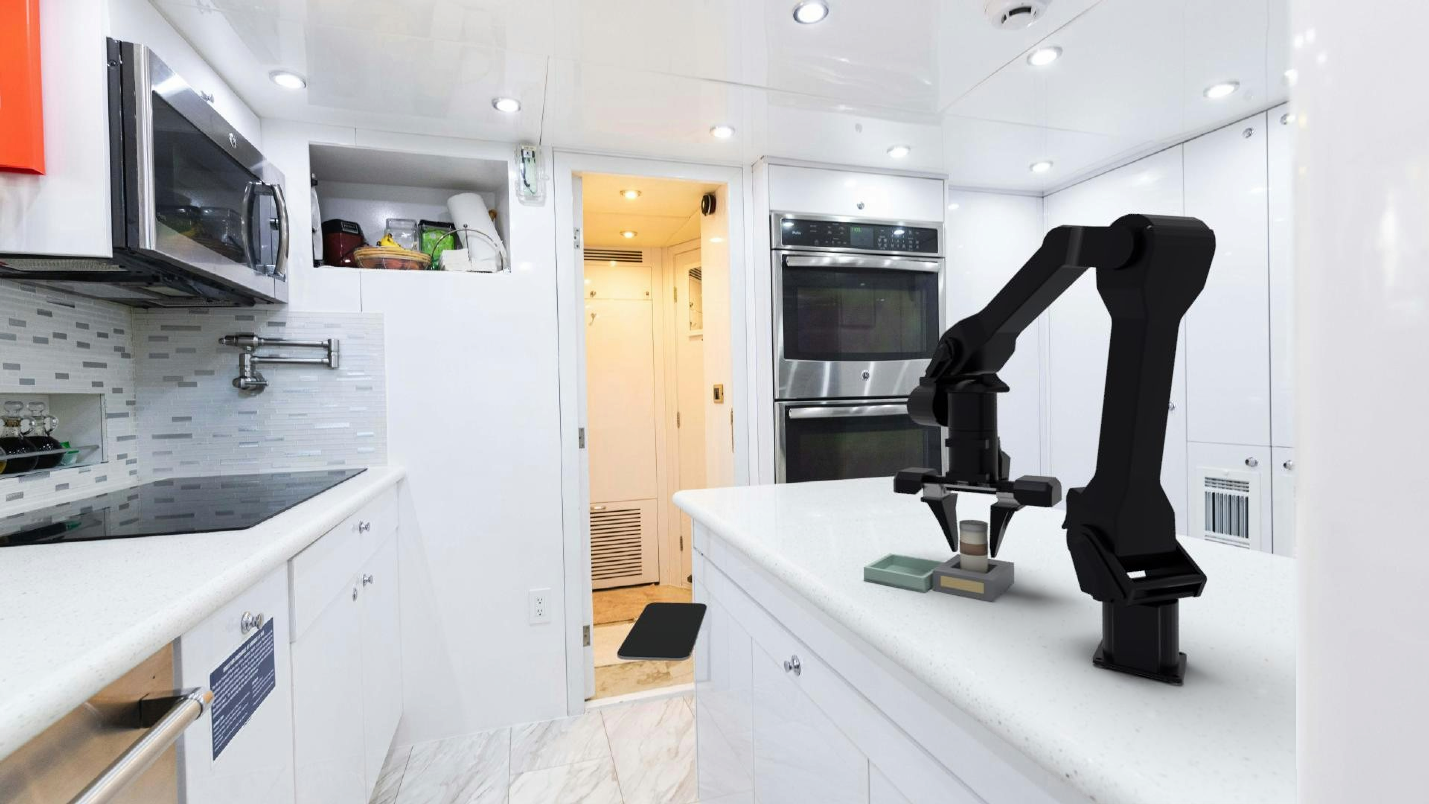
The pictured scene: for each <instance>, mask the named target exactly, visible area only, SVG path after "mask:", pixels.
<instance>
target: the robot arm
mask: <svg viewBox="0 0 1429 804" xmlns="http://www.w3.org/2000/svg"><path fill="white" fill-rule="evenodd" d="M1216 239H1217V238H1216V235H1215V232H1214V229H1212V228H1210V227H1209V226H1208V224H1206V223H1205V222H1204V221H1203V220H1201V219H1200V218H1197V217H1194V216H1183V215H1182V216H1181V215H1179V216H1178V215H1166V214H1163V215H1162V214H1148V213H1147V214H1146V213H1127V214H1124V215H1122V216H1119V217H1117V218H1116V219H1115V220H1114V221H1112V222H1111V223H1110V225H1101V226H1100V225H1099V226H1098V225H1095V226H1094V225H1093V226H1092V225H1076V224H1060V225H1058V226H1056V227H1054V228H1051V229H1050V230H1049V231H1048V232H1046V234H1045V236H1044V237H1043V240H1042V244H1041V246H1040V247H1039V248H1038V249H1037V250H1036V251H1035V252H1034V253H1033V255H1031V257H1030V258H1028V260H1027V261H1026V262H1025V263H1024V264H1023V265H1022V266H1021V268H1019V270H1018V271H1017V272H1016V273H1015V274H1014V275H1013V276H1012V277H1011V278H1010V279H1009V280H1008V282H1007V283H1006V284H1005V285H1004V286H1003V287H1002V288H1001V289H1000V290H999V291H998V292H997V293H996V295H995V296H994V297H993V298H992V299H991V300H990V301H989V302H988V303H987V304H986V305H985V307H983V308H982V309H981V310H979V312H977V313H973V314H971V315H969V316H966V317H964V318H962V319H960V320H958V321H957V322H955V323H954V324H953V325H952V326H951V327H949V328H948V329H947V330H945V331H944V332H943V333H942V335H941V337H940V338H939V341H938V343H937V345H936V348H935V350H934V353H933V355H932V357H931V360H930V362H929V364H928V365H927V367H926V368H925V370H924V372H925V374H924V376H919V378H918V381H919V383H918V384H919V385H917V386H916V387H914V388H913V389H912V390H911V391H910V394H909V395H908V398H907V401H906V411H907V413H908V416H909V417H910V419H911V420H912V421H913V422H914V423H916V424H918V425H923V426H932V427H944V428H947V438H944V447H945V448H948V449H947V451H948V452H947V454H948V455H947V456H948V457H947V459H948V463H947V464H948V470H947V471H945V472H944V473H945V475H939V473H938V470H937V469H936V468H928V467H927V468H925V467H908V468H905V469H901V470H898V471H897V472H896V473H895V474H894V476H893V477H894V478H893V480H892V482H893V483H892V484H893V493H894V494H902V495H903V494H904V495H912V496H916V495H917V494H919V492H921V491H922V496H920V498H919V499H920V502H921V503H926V504H927V506H928V507H929V508H930V510H931V512H932V515H934V517H935V519H936V520H937V523H938V525H939V527H940V528H941V531H942V533H943V534H944V536H945V539H946V541H947V543H948V546H949V548H950V550H951V552H952V553H956V552H958V551H959V530H958V516H957V503H958V497H959V492H961V493H971V494H983V495H992V496H993V495H994V496H995V497H996V499H997V501H996V502H994V503H992V504H990V506H989V515H990V516H989V542H988V548H989V555H990V559H995V558H996V557H997V556H998V553H999V550H1000V547H1001V544H1002V541H1003V539H1004V538H1005V537H1004V536H1005V534H1006V531H1007V528H1008V526H1009V524H1010V522H1011V520H1012V518H1013V516H1014V514H1015V512H1019V511H1021V510H1022V509H1024V508H1025V507H1038V508H1053V507H1054V506H1056V505H1057V504H1058V503H1060V502H1061V501H1062V500H1063V495H1062V493H1063V489H1062V487H1063V486H1062V483H1061V481H1060V480H1059V479H1058V478H1057V477H1056V476H1044V475H1029V474H1025V475H1022V476H1020V477H1018V478H1016V479H1015V480H1010V469H1011V460H1012V459H1011V457H1010V455H1008V453H1006V452H1005V451H1004V450H1002V447H1001V438H1000V436H998V435H999V431H998V394H1003V393H1010V391H1011V388H1010V386H1009V385H1008V384H1007V383H1006V382H1005V381H1003V380H1002V379H1001V378H1000V377H999V375H998V374H997V373H999V372H1000V371H1001V370H1002V369H1003V368H1004V366H1006V364H1007V363H1008V361H1009V359H1010V358H1011V357H1012V356H1013V355H1014V354H1015V352H1016V349H1017V347H1016V346H1017V339H1018V337H1019V336H1020V335H1021V333H1022V332H1023V331H1024V330H1025V329H1027V328H1028V327H1029V326H1030V325H1031V324H1032V323H1033V322H1034V321H1035V320H1036V319H1037V318H1038V317H1039V316H1041V314H1042V313H1043V312H1044V311H1045V310H1046V309H1048V308H1049V307H1050V306H1051V305H1052V304H1053V303H1054V302H1055V301H1056V300H1057V299H1058V298H1059V297H1060V296H1061V295H1062V294H1063V293H1065V292H1066V291H1067V290H1068V289H1069V288H1070V287H1071V286H1072V285H1073V284H1074V283H1075V282H1076V281H1077V280H1079V278H1081V277H1082V275H1084V274H1085V273H1086V272H1087V271H1088V270H1089V269H1090V268H1093V269H1094V268H1095V284H1096V290H1097V292H1098V294H1099V297H1100V298H1101V300H1102V302H1103V304H1104V306H1105V308H1106V310H1107V313H1108V314H1109V316H1110V321H1111V326H1110V334H1109V345H1108V353H1107V364H1106V373H1105V379H1104V380H1105V382H1104V389H1103V390H1104V391H1103V398H1102V399H1103V400H1102V409H1101V410H1102V411H1101V417H1100V428H1099V435H1098V436H1099V438H1098V445H1097V446H1098V447H1097V456H1096V465H1095V471H1094V474H1093V476H1092V477H1091V478H1090V480H1089V482H1087V484H1086V485H1085V486H1078V487H1070V488H1069V489H1068V490H1067V493H1066V495H1065V518H1064V520H1063V522H1062V525H1061V527H1060V528H1061V529H1062V530H1066V533H1065V537H1066V538H1065V539H1066V547H1067V550H1068V551H1069V554H1070V557H1071V560H1072V564H1073V568H1074V571H1075V575H1076V578H1077V582H1078V585H1079V588H1080V589H1079V590H1080V591H1081V592H1082V593H1084V594H1087V595H1090V596H1091V597H1092V599H1093V600H1095V601H1097V602H1101V609H1102V610H1101V611H1102V612H1101V613H1102V614H1101V618H1102V619H1101V622H1102V624H1101V628H1102V629H1101V630H1102V631H1101V633H1102V636H1101V637H1102V638H1101V640H1100V642H1099V643H1098V646H1097V648H1096V650H1095V652H1094V654H1093V655H1092V663H1093V665H1096V666H1101V667H1105V668H1107V669H1108V668H1109V669H1113V670H1117V671H1121V672H1126V673H1129V674H1134V675H1138V676H1143V677H1147V678H1151V679H1155V680H1160V681H1163V682H1168V683H1173V684H1176V685H1178V684H1179V685H1180V684H1183V682H1184V677H1185V673H1186V672H1185V671H1186V667H1187V666H1186V665H1187V661H1188V660H1187V659H1188V656H1187V653H1185V652H1183V651H1180V599H1186V598H1200V597H1201V596H1202V594H1203V591H1204V589H1205V586H1206V584H1207V581H1208V576H1207V575H1206V573H1204V571H1203V570H1202V568H1200V566H1199V565H1198V563H1196V561H1195V560H1194V559H1193V557H1192V556H1191V555H1190V554H1189V553H1188V552H1187V550H1186V549H1185V548H1184V546H1183V545H1182V544H1181V543H1180V542H1179V540H1178V538H1177V532H1176V530H1177V529H1176V528H1177V526H1176V512H1175V510H1174V507H1173V506H1172V503H1171V501H1170V499H1169V498H1168V496H1167V494H1166V491H1165V489H1164V488H1163V486H1162V484H1161V475H1162V474H1161V473H1162V466H1163V458H1164V450H1165V444H1166V443H1165V442H1166V433H1167V426H1168V418H1169V409H1170V403H1171V394H1172V393H1171V392H1172V386H1173V379H1174V378H1173V377H1174V370H1175V369H1174V368H1175V363H1176V362H1175V361H1176V356H1177V355H1176V354H1177V346H1178V339H1179V338H1178V337H1179V329H1180V324H1181V321H1182V318H1183V317H1185V314H1186V313H1187V312H1188V310H1189V309H1190V307H1192V305H1193V303H1195V301H1196V300H1197V298H1198V297H1200V294H1201V293H1202V292H1203V290H1204V289H1205V287H1206V282H1207V279H1208V278H1209V277H1208V276H1209V273H1210V269H1211V267H1212V264H1213V260H1214V257H1215V253H1216V249H1217V240H1216ZM1137 572H1144V575H1143V576H1136V577H1130V576H1129V574H1130V573H1137Z"/></svg>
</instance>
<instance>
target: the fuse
mask: <svg viewBox="0 0 1429 804" xmlns="http://www.w3.org/2000/svg"><path fill="white" fill-rule="evenodd" d="M958 524H959V525H958V526H959V554H960V569H962V570H968V571H974V572H979V573H985V574H987V573H988V559H989V539H988V537H989V536H988V535H989V534H988V533H989V532H988V531H989V523H988V522H986V521H984V520H977V519H963V520H959V522H958Z"/></svg>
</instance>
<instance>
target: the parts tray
mask: <svg viewBox="0 0 1429 804" xmlns="http://www.w3.org/2000/svg"><path fill="white" fill-rule="evenodd" d="M945 562H946V561H945ZM945 562H944V561H939V560H932V559H926V558H920V557H914V556H909V555H902V554H895V553H891V552H890V553H888V554H886V555H884V556H882V557H880V558H879V559H877V560H874V561H872V562H870V563H869V564H867V565H865V566H864V567H863V581H864V582H869V583H874V584H877V585H878V584H879V585H884V586H888V587H892V588H898V589H904V590H908V591H915V592H920V593H924V594H925V593H926V592H928V591H929V590H931V589H933V570H934V569H935V568H937V567H939V566H940V565H942V564H943V563H945Z"/></svg>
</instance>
